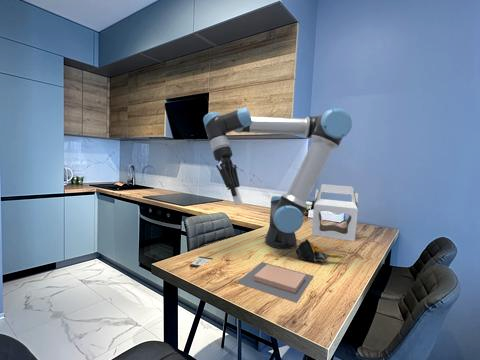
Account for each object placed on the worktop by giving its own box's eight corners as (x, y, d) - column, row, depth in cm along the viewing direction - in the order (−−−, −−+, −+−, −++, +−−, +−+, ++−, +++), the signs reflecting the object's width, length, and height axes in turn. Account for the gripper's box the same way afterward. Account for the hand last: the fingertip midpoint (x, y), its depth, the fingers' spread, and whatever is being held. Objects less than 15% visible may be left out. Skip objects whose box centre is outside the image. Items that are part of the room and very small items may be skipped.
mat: (261, 263, 100) (262, 261, 100) (313, 277, 90) (313, 275, 90) (235, 284, 82) (235, 282, 82) (296, 304, 72) (296, 302, 72)
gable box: (353, 234, 145) (358, 185, 142) (355, 241, 133) (360, 188, 130) (313, 229, 153) (316, 182, 150) (311, 235, 140) (315, 184, 138)
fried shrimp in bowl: (291, 243, 111) (331, 231, 111) (300, 269, 108) (341, 257, 108) (295, 242, 102) (338, 229, 103) (305, 270, 99) (349, 257, 99)
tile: (267, 264, 93) (305, 274, 87) (267, 268, 94) (305, 279, 87) (254, 275, 84) (295, 288, 77) (253, 280, 84) (295, 293, 77)
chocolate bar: (237, 273, 89) (189, 265, 94) (237, 275, 89) (189, 267, 94) (243, 263, 98) (199, 256, 102) (243, 265, 98) (199, 258, 102)
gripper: (221, 154, 113) (238, 205, 110) (205, 151, 101) (222, 208, 98) (236, 147, 110) (253, 199, 106) (220, 143, 98) (239, 202, 95)
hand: (238, 203), depth 102 cm, fingers closed
